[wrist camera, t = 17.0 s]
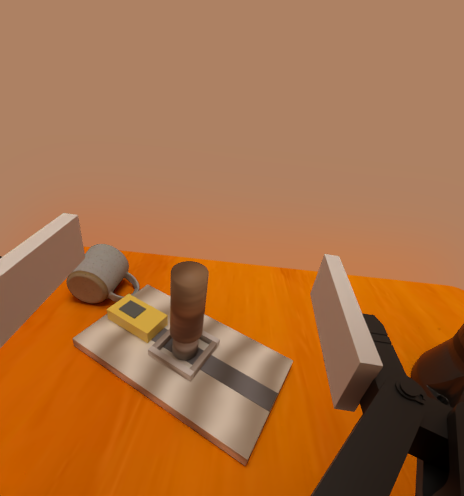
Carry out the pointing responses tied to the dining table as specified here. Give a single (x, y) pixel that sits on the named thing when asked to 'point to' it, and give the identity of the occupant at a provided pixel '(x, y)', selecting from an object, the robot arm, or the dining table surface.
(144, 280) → the dining table surface
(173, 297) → the brown tall rounded piece
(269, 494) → the dining table surface
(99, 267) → the ceramic mug
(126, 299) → the block
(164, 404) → the subfloor panel
